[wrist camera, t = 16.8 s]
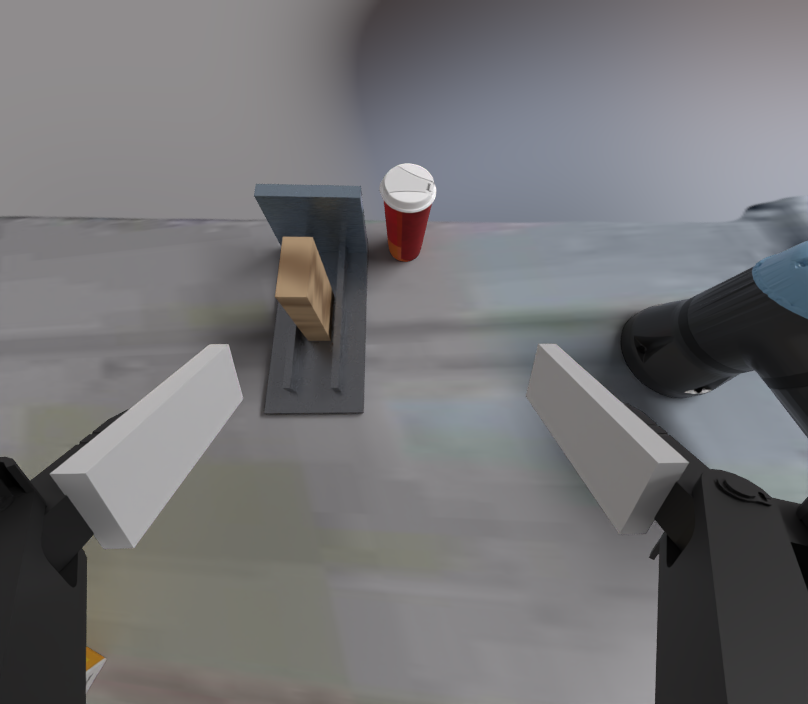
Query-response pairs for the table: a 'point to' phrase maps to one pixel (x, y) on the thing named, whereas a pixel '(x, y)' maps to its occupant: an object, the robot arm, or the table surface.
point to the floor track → (347, 273)
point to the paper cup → (407, 208)
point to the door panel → (305, 288)
